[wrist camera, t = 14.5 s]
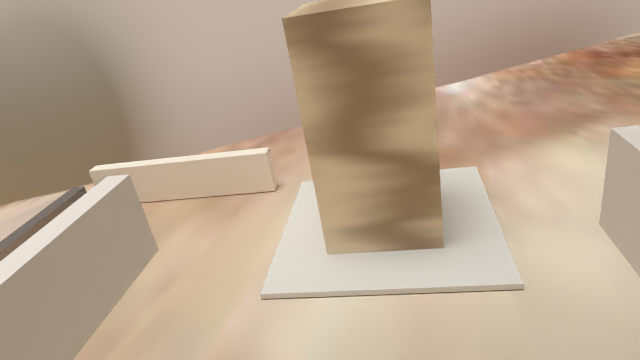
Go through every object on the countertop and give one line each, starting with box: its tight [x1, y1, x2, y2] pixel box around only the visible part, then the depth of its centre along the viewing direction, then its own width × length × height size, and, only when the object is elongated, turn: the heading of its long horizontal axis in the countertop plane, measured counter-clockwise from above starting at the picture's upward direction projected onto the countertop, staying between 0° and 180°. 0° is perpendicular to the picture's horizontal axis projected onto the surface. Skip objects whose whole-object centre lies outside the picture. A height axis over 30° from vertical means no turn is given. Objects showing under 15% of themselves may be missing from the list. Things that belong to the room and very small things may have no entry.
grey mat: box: [260, 166, 524, 299], centre depth 26 cm, size 12×12×1 cm
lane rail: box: [89, 148, 278, 202], centre depth 34 cm, size 14×1×3 cm, turn 82°
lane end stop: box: [0, 187, 87, 261], centre depth 30 cm, size 1×10×2 cm, turn 172°
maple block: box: [282, 0, 444, 255], centre depth 23 cm, size 6×6×12 cm
